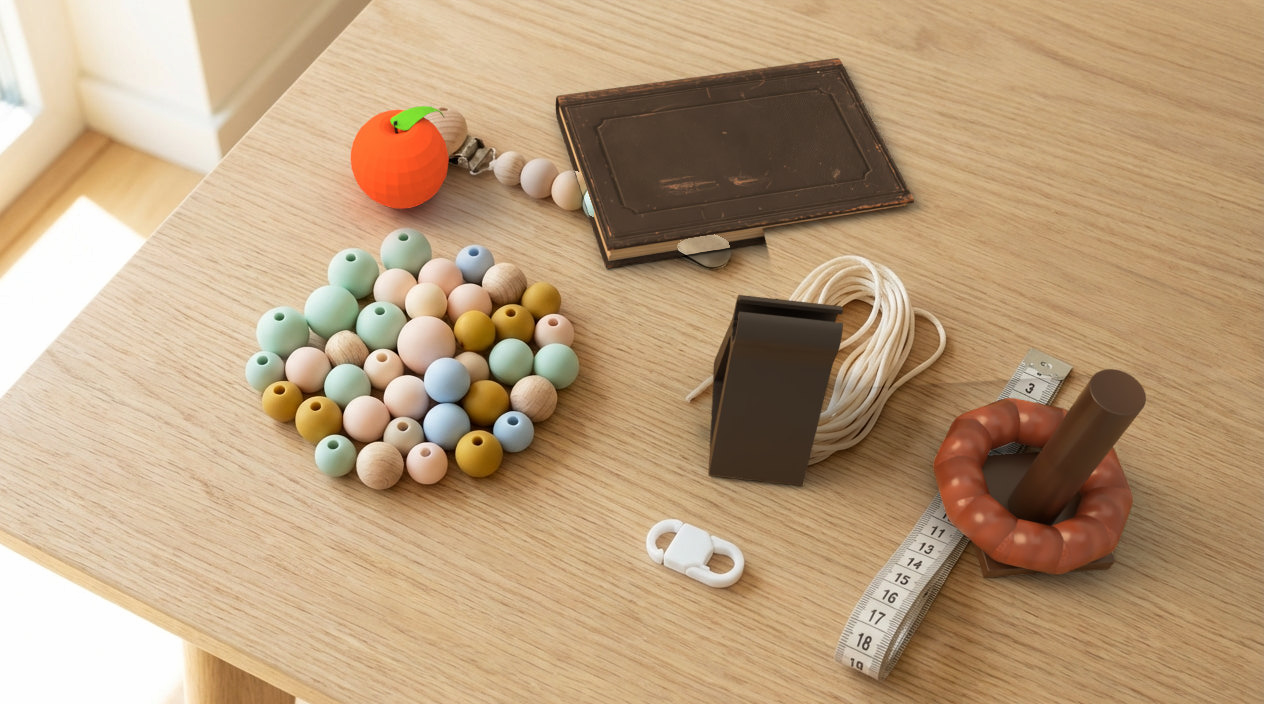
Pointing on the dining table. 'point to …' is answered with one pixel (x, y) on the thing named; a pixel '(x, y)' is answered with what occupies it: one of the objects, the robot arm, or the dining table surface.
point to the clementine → (400, 157)
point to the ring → (999, 528)
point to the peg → (1063, 462)
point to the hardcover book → (725, 157)
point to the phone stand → (771, 388)
